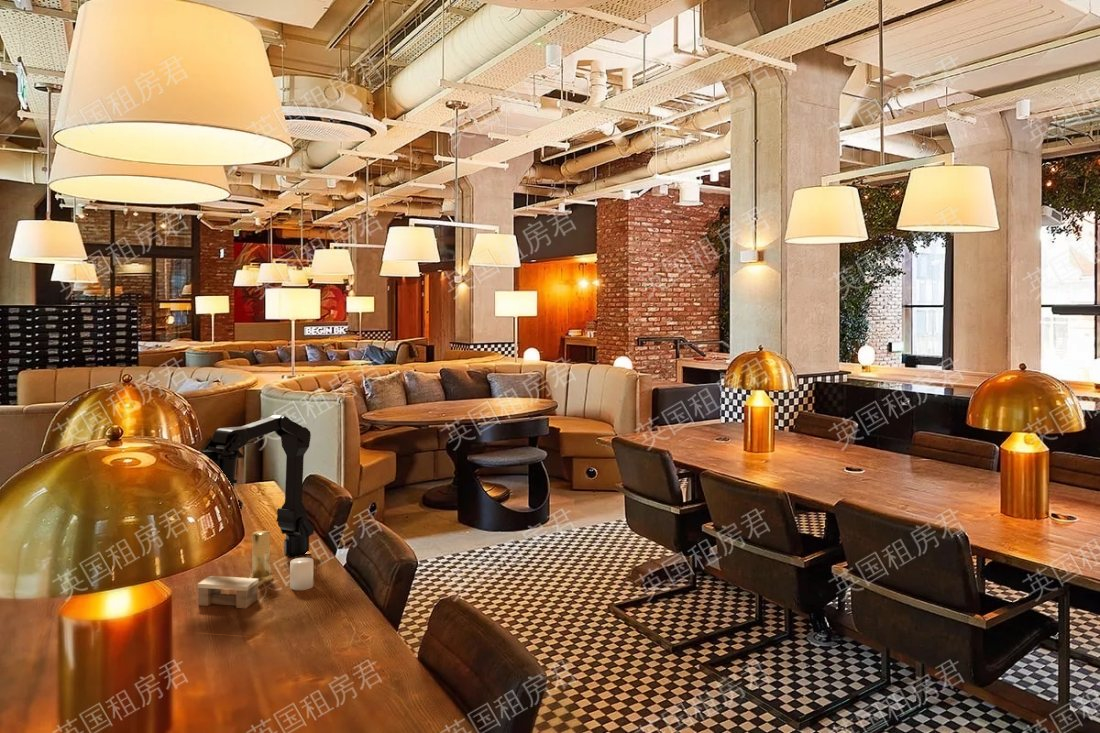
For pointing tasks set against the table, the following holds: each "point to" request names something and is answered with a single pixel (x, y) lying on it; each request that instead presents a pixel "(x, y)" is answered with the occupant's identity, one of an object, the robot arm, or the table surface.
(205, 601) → the bridge
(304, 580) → the white cylinder
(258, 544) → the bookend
